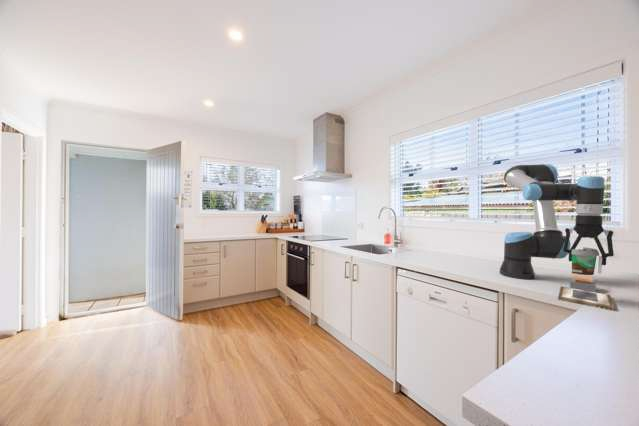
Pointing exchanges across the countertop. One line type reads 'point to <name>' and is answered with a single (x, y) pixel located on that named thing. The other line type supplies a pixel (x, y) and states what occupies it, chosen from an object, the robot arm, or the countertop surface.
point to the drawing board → (586, 298)
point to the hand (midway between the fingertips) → (586, 271)
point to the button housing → (583, 285)
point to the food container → (584, 261)
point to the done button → (583, 279)
